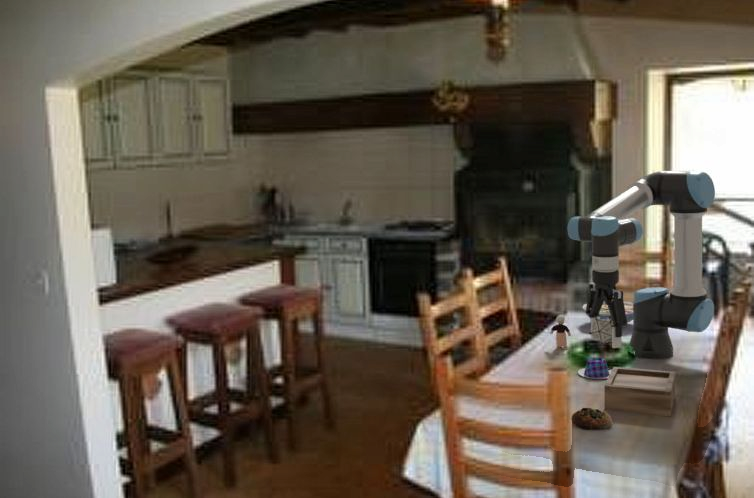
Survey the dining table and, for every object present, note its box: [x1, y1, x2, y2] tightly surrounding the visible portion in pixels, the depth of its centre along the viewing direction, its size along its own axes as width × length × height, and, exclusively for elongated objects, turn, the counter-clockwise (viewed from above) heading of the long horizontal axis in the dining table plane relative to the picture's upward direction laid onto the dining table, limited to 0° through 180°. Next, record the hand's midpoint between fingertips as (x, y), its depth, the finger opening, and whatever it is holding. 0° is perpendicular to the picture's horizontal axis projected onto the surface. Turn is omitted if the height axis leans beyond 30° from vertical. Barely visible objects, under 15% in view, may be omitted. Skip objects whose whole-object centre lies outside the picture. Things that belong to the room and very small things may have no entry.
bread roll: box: [571, 407, 613, 431], centre depth 216 cm, size 11×11×5 cm
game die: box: [588, 316, 614, 347], centre depth 230 cm, size 9×8×10 cm
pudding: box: [577, 357, 612, 380], centre depth 255 cm, size 12×12×5 cm
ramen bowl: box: [582, 301, 633, 324], centre depth 313 cm, size 25×23×8 cm
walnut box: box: [603, 366, 676, 417], centre depth 229 cm, size 18×18×7 cm
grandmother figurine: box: [550, 314, 572, 351], centre depth 285 cm, size 8×4×13 cm, turn 71°
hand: (606, 342), depth 231 cm, fingers closed on game die, 10 cm apart
